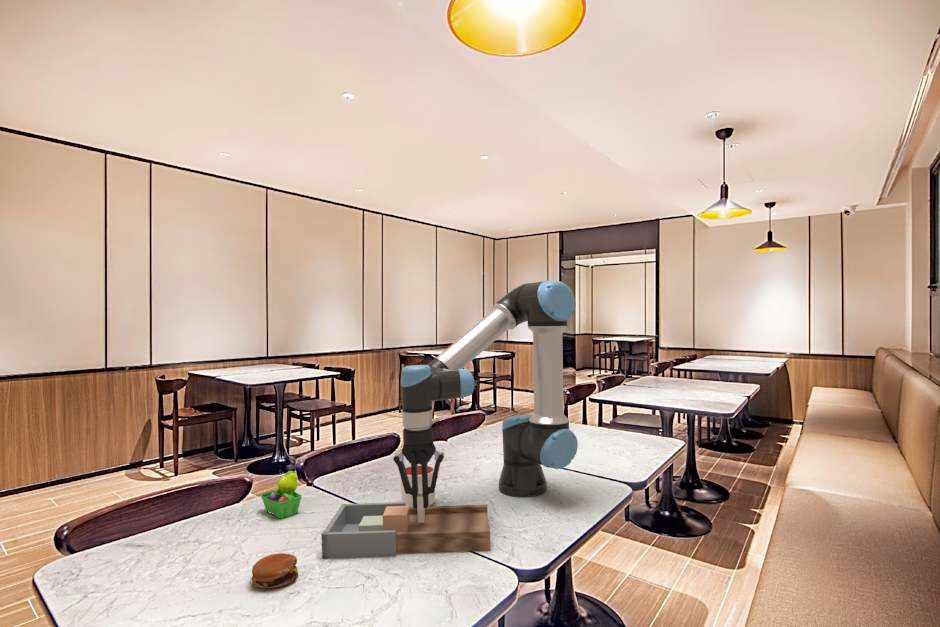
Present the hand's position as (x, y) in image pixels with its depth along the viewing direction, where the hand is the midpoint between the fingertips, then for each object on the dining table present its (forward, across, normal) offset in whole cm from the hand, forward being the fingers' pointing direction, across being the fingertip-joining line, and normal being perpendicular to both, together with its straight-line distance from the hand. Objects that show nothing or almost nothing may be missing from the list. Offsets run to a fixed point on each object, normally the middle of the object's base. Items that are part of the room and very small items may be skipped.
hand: (421, 520), depth 128 cm
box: (+4, +14, 0) cm, 14 cm away
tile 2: (+1, +6, 0) cm, 6 cm away
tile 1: (+4, +12, 0) cm, 13 cm away
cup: (+5, +3, -23) cm, 23 cm away
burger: (+4, +30, +19) cm, 35 cm away
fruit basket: (+4, +42, -19) cm, 47 cm away
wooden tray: (+4, -6, 0) cm, 7 cm away
